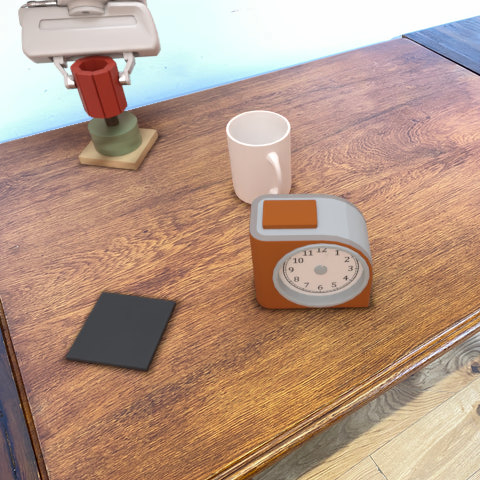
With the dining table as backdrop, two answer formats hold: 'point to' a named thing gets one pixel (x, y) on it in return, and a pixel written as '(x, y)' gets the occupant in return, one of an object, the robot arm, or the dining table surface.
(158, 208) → the dining table surface
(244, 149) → the mug
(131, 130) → the ring stand
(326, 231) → the alarm clock
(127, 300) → the mat
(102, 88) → the ring sleeve
